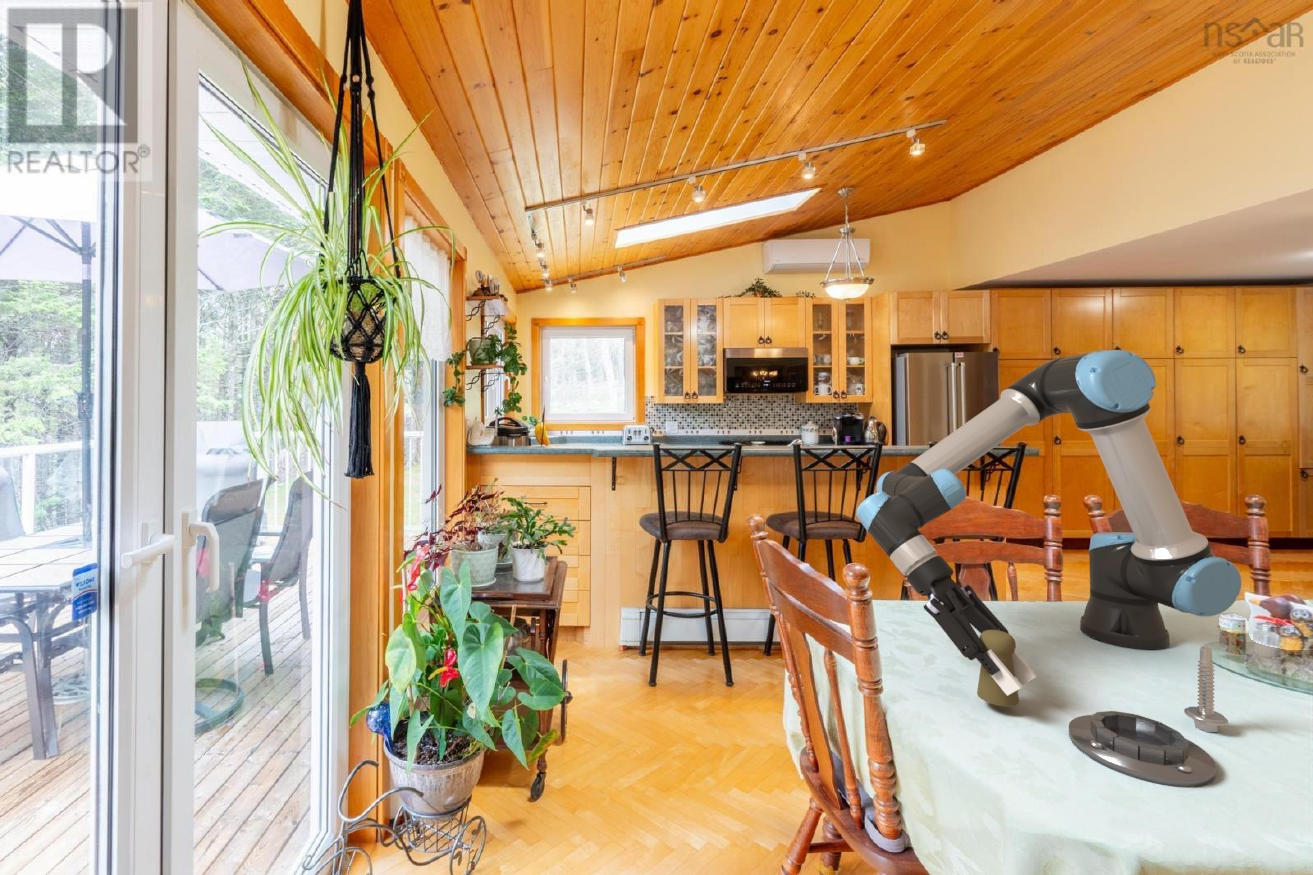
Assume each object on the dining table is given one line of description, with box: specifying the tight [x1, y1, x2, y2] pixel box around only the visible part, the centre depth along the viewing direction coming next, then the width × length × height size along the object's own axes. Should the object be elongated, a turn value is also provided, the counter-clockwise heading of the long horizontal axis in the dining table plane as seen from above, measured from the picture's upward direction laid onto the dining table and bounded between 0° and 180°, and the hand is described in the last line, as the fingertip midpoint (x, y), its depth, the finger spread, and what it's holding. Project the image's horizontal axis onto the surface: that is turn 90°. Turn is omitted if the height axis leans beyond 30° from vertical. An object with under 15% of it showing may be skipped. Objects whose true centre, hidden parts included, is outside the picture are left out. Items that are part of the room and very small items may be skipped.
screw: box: [1183, 645, 1229, 733], centre depth 87 cm, size 13×5×5 cm
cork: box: [976, 630, 1020, 707], centre depth 94 cm, size 6×6×11 cm
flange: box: [1068, 710, 1216, 788], centre depth 81 cm, size 16×16×3 cm
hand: (1022, 685), depth 91 cm, fingers closed on cork, 5 cm apart
